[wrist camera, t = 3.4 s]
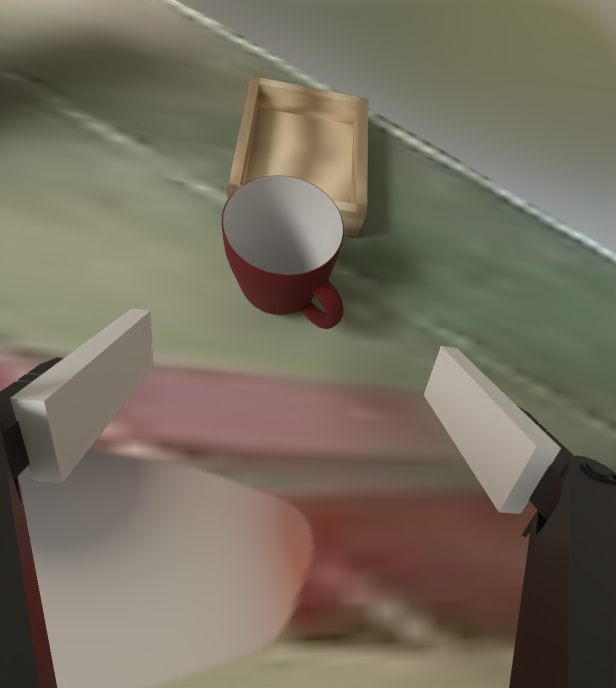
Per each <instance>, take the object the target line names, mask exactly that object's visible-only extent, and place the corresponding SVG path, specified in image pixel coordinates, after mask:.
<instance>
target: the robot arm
mask: <svg viewBox="0 0 616 688" xmlns="http://www.w3.org/2000/svg"><path fill="white" fill-rule="evenodd" d="M152 368H153V351H152V332H151V314H150V311H148V310H140V309H130V310H129V311H128V312H126V313H125V314H123V315H122V316H121V317H119V318H118V319H117V320H115V321H114V322H113V323H111V324H110V325H109V326H107V327H106V328H104V329H103V330H102V331H100V332H99V333H98V334H96V335H95V336H94V337H92V338H91V339H90V340H88V341H87V342H85V343H84V344H83V345H81V346H80V347H79V348H77V349H76V350H75V351H73V352H72V353H71V354H69V355H68V356H67V357H65V358H55V359H52V360H50V361H47V362H45V363H42V364H40V365H38V366H37V367H35V368H34V369H33V370H31V371H30V372H28V374H27V375H26V374H25V375H24V376H22V377H21V378H20V379H18V381H17V382H14V383H12V384H11V385H9V386H8V387H7V388H5V389H4V390H2V391H1V392H0V688H57V684H56V678H55V673H54V667H53V662H52V657H51V652H50V646H49V640H48V635H47V630H46V624H45V619H44V613H43V608H42V603H41V597H40V592H39V586H38V581H37V576H36V570H35V564H34V559H33V554H32V548H31V543H30V537H29V532H28V527H27V521H26V517H25V511H24V505H23V500H22V495H21V489H20V484H19V481H18V477H17V476H18V475H19V474H20V473H21V472H22V471H23V470H24V469H25V468H26V467H27V466H28V465H29V468H30V472H31V476H32V479H33V481H44V482H59V483H62V482H63V481H64V480H65V479H66V477H67V476H68V475H69V474H70V472H71V471H72V470H73V469H74V467H75V466H76V465H77V463H78V462H79V461H80V460H81V458H82V457H83V456H84V455H85V453H86V452H87V451H88V449H89V448H90V447H91V446H92V444H93V443H94V442H95V441H96V439H97V438H98V437H99V435H100V434H101V433H102V432H103V430H104V429H105V428H106V427H107V425H108V424H109V423H110V421H111V420H112V419H113V418H114V416H115V415H116V414H117V413H118V411H119V410H120V409H121V407H122V406H123V405H124V404H125V402H126V401H127V400H128V399H129V397H130V396H131V395H132V393H133V392H134V391H135V390H136V388H137V387H138V386H139V385H140V383H141V382H142V381H143V379H144V378H145V377H146V376H147V374H148V373H149V372H150V371H151V369H152ZM424 396H425V398H426V399H427V401H428V402H429V404H430V406H431V407H432V409H433V410H434V412H435V413H436V415H437V416H438V418H439V420H440V421H441V423H442V424H443V426H444V427H445V429H446V430H447V432H448V434H449V435H450V437H451V438H452V440H453V441H454V443H455V445H456V446H457V448H458V449H459V451H460V452H461V454H462V455H463V457H464V459H465V460H466V462H467V463H468V465H469V466H470V468H471V469H472V471H473V473H474V474H475V476H476V477H477V479H478V480H479V482H480V483H481V485H482V487H483V488H484V490H485V491H486V493H487V494H488V496H489V497H490V499H491V501H492V502H493V504H494V505H495V507H496V508H497V510H498V511H499V512H502V513H516V514H521V513H522V512H523V510H524V508H525V507H526V505H527V503H528V502H529V500H530V501H531V502H532V504H533V505H534V506H535V507H536V509H537V512H536V513H535V515H534V516H533V518H532V520H531V521H530V523H529V524H528V526H527V527H526V529H525V531H524V532H523V534H522V535H523V536H524V537H526V536H527V535H528V534H529V533H530V538H529V546H528V553H527V560H526V568H525V575H524V582H523V590H522V597H521V605H520V612H519V619H518V627H517V634H516V641H515V649H514V656H513V663H512V671H511V678H510V686H509V688H616V473H615V472H613V471H612V470H611V469H609V468H608V467H606V466H605V465H603V464H601V463H599V462H597V461H595V460H592V459H589V458H587V457H582V456H574V455H573V454H572V453H570V452H569V451H568V450H567V449H566V448H565V447H564V446H563V445H562V444H561V443H560V442H559V441H558V440H557V439H556V438H555V437H554V436H552V435H551V434H550V433H549V432H547V431H546V429H545V428H544V427H543V426H542V425H541V424H538V421H537V420H535V419H534V418H533V417H532V416H531V415H530V414H529V413H528V412H526V411H525V410H523V409H522V408H520V407H518V406H517V405H515V404H514V403H513V402H512V401H511V400H510V399H509V398H508V397H507V396H506V395H505V394H504V393H503V392H502V391H501V390H500V389H499V388H498V387H497V386H496V385H495V384H494V383H493V382H492V381H490V380H489V379H488V378H487V377H486V376H485V375H484V374H483V373H482V372H481V371H480V370H479V369H478V368H477V367H476V366H475V365H474V364H473V363H472V362H471V361H470V360H469V359H468V358H467V357H465V356H464V355H463V354H462V353H461V352H460V351H459V350H458V349H457V348H454V347H446V346H441V347H440V350H439V353H438V356H437V359H436V362H435V364H434V367H433V370H432V373H431V376H430V379H429V381H428V384H427V387H426V390H425V393H424Z"/></svg>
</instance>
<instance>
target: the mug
mask: <svg viewBox="0 0 616 688" xmlns="http://www.w3.org/2000/svg"><path fill="white" fill-rule="evenodd" d="M222 232H223V240H224V246H225V252H226V255H227V259H228V262H229V264H230V267H231V269H232V271H233V273H234V275H235V277H236V279H237V281H238V283H239V285H240V287H241V289H242V291H243V293H244V295H245V296H246V298H247V299H248V300H249V301H250V302H251V303H252V304H253V305H254V306H255V307H256V308H258V309H260V310H262V311H264V312H266V313H269V314H275V315H284V314H289V313H293V312H296V311H301V312H302V313H303V314H304V315H305V316H306V317H307V318H308V319H309V320H310V321H311V322H312V323H314V324H315V325H316V326H318V327H320V328H323V329H329V328H332V327H334V326H335V325H337V324H338V323H339V322H340V320H341V318H342V316H343V304H342V300H341V298H340V296H339V294H338V292H337V290H336V289H335V288H334V286H333V285H332V284H331V283H330V282H329V281H328V278H329V276H330V274H331V271H332V269H333V267H334V265H335V262H336V259H337V257H338V254H339V251H340V248H341V245H342V241H343V236H344V224H343V219H342V216H341V213H340V211H339V209H338V207H337V206H336V204H335V203H334V201H333V200H332V199H331V198H330V197H329V196H328V195H327V194H326V193H325V192H324V191H323V190H321V189H320V188H318V187H317V186H315V185H313V184H311V183H309V182H307V181H305V180H302V179H299V178H295V177H290V176H281V175H274V176H265V177H261V178H257V179H254V180H251V181H249V182H247V183H245V184H244V185H242V186H241V187H239V188H238V189H237V190H236V191H235V192H234V193H233V194H232V195H231V196H230V198H229V199H228V201H227V202H226V204H225V207H224V210H223V214H222ZM314 295H315V296H316V297H317V298H318V299H319V300H320V302H321V303H322V305H323V307H324V309H325V311H326V313H325V312H323V311H322V310H320V309H319V308H317V307H316V306H315V305H314V304H313V303H311V300H312V298H313V296H314Z"/></svg>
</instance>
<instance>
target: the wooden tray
mask: <svg viewBox="0 0 616 688" xmlns="http://www.w3.org/2000/svg"><path fill="white" fill-rule="evenodd" d="M367 171H368V99H366V98H361V97H356V96H351V95H346V94H341V93H336V92H331V91H326V90H321V89H316V88H310V87H305V86H300V85H295V84H290V83H285V82H280V81H275V80H270V79H265V78H260V77H254V76H250V80H249V85H248V90H247V95H246V100H245V105H244V110H243V115H242V120H241V125H240V130H239V135H238V140H237V145H236V150H235V155H234V160H233V165H232V170H231V175H230V181H229V186H228V191H227V194H228V199H229V198H230V196H231V195H232V194H233V193H234V192H235V191H236V190H237V189H238V188H239V187H241V186H242V185H244V184H245V183H247V182H249V181H251V180H254V179H257V178H261V177H265V176H274V175H281V176H290V177H295V178H299V179H302V180H305V181H307V182H309V183H311V184H313V185H315V186H317V187H318V188H320V189H321V190H323V191H324V192H325V193H326V194H327V195H328V196H329V197H330V198H331V199H332V200H333V201H334V203H335V204H336V206H337V207H338V209H339V211H340V213H341V216H342V219H343V224H344V236H348V237H355V238H357V236H358V234H359V232H360V229H361V227H362V225H363V222H364V220H365V218H366V215H367Z"/></svg>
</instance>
